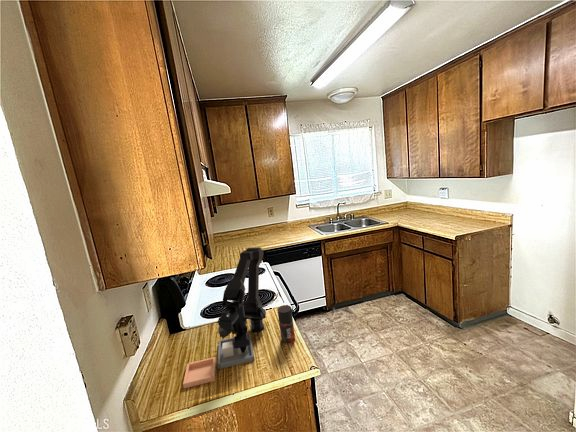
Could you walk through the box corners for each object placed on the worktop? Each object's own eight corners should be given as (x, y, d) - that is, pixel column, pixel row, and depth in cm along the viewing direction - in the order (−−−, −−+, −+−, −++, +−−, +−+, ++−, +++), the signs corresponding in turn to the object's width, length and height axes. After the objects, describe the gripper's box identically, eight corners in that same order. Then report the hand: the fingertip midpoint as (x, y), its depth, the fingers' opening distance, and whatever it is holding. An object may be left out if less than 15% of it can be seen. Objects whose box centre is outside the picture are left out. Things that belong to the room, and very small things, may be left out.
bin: (219, 345, 119) (218, 340, 119) (251, 338, 122) (250, 333, 122) (218, 370, 104) (217, 365, 104) (254, 361, 107) (253, 356, 106)
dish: (188, 368, 107) (187, 363, 106) (216, 362, 109) (215, 356, 109) (184, 389, 96) (182, 383, 96) (215, 381, 99) (214, 376, 98)
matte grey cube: (238, 348, 115) (236, 339, 114) (247, 346, 116) (246, 337, 115) (238, 354, 111) (237, 345, 111) (248, 351, 112) (247, 343, 111)
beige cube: (224, 351, 114) (222, 343, 113) (233, 349, 115) (232, 340, 114) (223, 357, 110) (222, 349, 109) (233, 355, 111) (232, 346, 110)
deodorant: (286, 346, 113) (282, 314, 111) (278, 340, 118) (274, 309, 116) (297, 340, 117) (294, 308, 114) (289, 334, 122) (286, 303, 119)
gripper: (218, 308, 118) (223, 340, 121) (216, 332, 100) (223, 369, 103) (244, 303, 120) (248, 334, 123) (246, 325, 102) (252, 362, 105)
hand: (243, 349), depth 114 cm, fingers closed on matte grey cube, 4 cm apart
